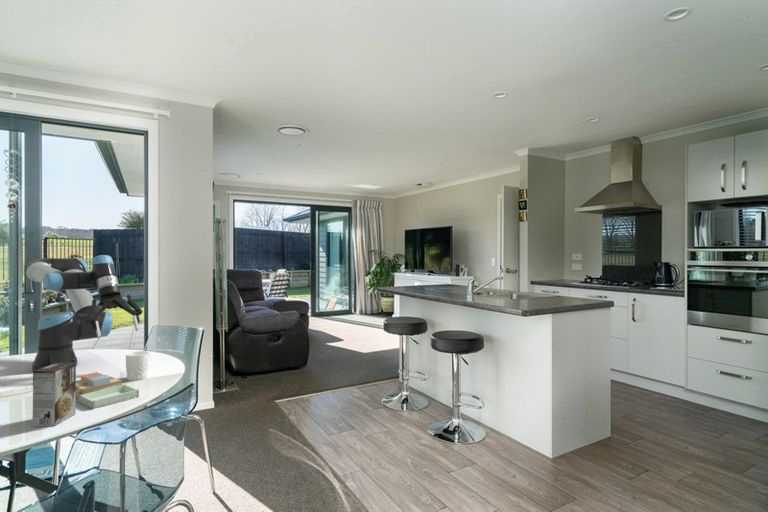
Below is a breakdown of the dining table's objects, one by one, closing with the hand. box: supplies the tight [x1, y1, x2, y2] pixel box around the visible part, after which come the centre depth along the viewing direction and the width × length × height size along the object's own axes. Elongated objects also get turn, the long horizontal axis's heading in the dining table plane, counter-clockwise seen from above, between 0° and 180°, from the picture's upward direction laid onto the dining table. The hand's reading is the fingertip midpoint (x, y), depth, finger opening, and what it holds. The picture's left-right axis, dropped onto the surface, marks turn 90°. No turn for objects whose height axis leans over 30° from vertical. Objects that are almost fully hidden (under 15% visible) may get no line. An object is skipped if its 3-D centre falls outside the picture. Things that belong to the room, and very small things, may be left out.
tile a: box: [80, 371, 104, 383], centre depth 145 cm, size 5×5×2 cm
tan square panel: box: [76, 374, 123, 401], centre depth 144 cm, size 13×12×4 cm
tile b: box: [87, 374, 110, 386], centre depth 142 cm, size 5×5×2 cm
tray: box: [78, 383, 140, 410], centre depth 137 cm, size 10×14×2 cm
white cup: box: [125, 350, 150, 382], centre depth 161 cm, size 8×8×10 cm
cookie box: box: [31, 363, 77, 427], centre depth 120 cm, size 9×6×16 cm
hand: (119, 333), depth 167 cm, fingers open, 13 cm apart
